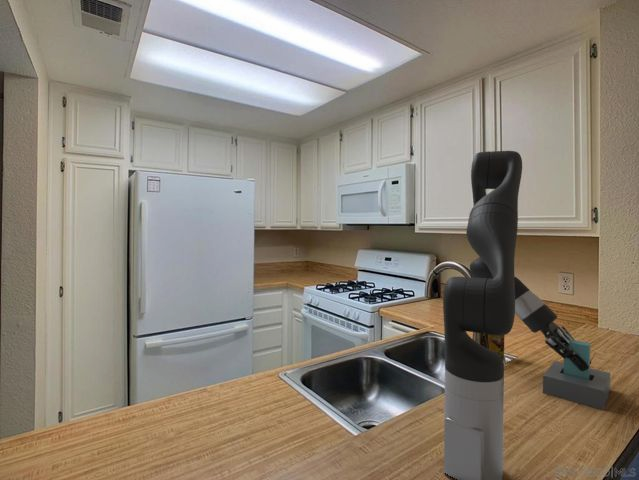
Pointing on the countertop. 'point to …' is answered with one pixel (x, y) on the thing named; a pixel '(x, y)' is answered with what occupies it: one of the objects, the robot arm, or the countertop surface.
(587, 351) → the teal rectangular block
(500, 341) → the condiment
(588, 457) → the countertop surface
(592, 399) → the gray slotted block
